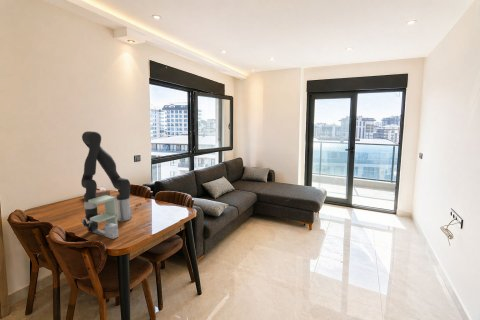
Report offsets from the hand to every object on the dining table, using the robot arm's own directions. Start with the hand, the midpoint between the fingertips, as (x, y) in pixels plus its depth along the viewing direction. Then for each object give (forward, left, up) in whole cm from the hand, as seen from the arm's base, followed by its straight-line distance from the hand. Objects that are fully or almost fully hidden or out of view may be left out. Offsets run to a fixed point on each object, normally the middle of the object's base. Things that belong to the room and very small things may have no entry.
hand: (92, 229), depth 177 cm
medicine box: (0, +20, -1) cm, 20 cm away
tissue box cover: (-51, -68, -1) cm, 85 cm away
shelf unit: (-1, +11, -1) cm, 11 cm away
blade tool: (0, +7, -1) cm, 7 cm away
